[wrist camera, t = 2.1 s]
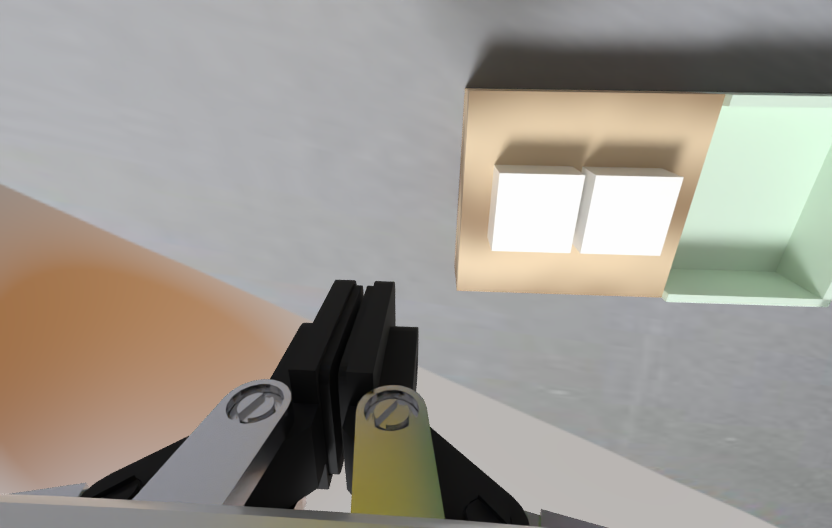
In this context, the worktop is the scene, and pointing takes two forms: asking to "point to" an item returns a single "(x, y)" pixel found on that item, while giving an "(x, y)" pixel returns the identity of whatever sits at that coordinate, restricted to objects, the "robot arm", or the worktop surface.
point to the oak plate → (580, 147)
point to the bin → (761, 206)
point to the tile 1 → (534, 208)
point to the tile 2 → (625, 210)
